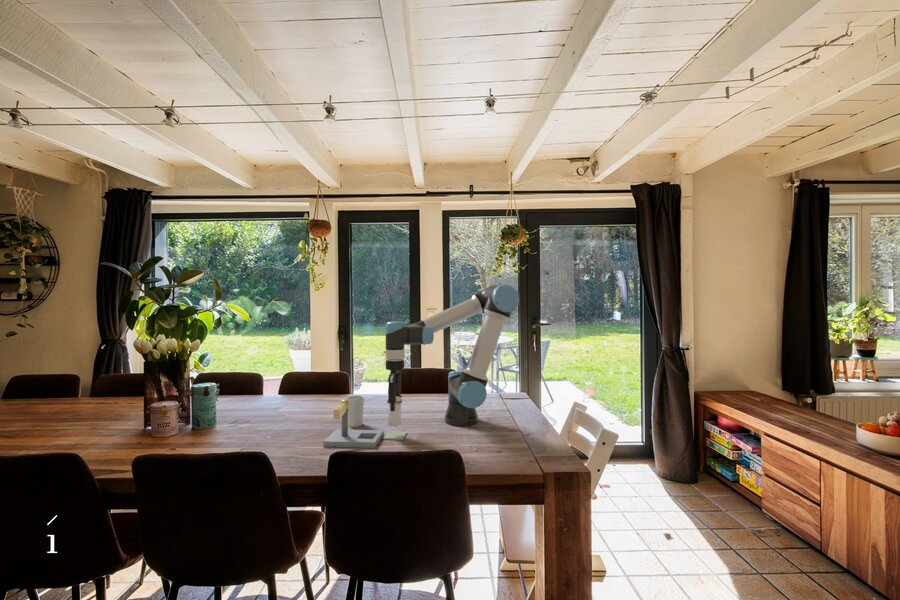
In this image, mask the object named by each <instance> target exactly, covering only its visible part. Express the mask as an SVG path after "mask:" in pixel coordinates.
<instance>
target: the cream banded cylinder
mask: <svg viewBox="0 0 900 600" xmlns="http://www.w3.org/2000/svg"><path fill="white" fill-rule="evenodd" d="M386 401H388V399H387V400H386ZM396 402H397V419H389V416H390V403H388V402H387V404H388V426H389V427H399V426H400V425H402V403H403V399H402V398H401V397H400V396H396Z"/></svg>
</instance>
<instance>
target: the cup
mask: <svg viewBox="0 0 900 600" xmlns="http://www.w3.org/2000/svg"><path fill="white" fill-rule="evenodd" d="M345 399H348V400H349V410H348V427H351V428H352V427H353V428H357V427H361V426H362V425H363V418H364V405H365V404H364V403H365V397H364V396H363V395H351V396H347V397H345Z"/></svg>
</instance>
